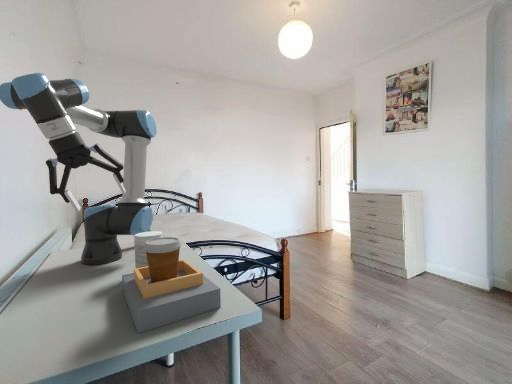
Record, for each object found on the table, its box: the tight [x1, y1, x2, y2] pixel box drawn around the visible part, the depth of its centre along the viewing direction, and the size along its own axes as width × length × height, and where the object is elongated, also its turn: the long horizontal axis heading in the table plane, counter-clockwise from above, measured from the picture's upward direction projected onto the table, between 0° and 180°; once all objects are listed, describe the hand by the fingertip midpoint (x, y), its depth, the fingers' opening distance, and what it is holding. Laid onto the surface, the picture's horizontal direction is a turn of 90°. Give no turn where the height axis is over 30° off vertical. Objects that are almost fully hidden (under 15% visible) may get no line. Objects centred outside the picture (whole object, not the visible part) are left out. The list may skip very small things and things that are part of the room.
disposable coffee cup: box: [144, 236, 182, 283], centre depth 70 cm, size 10×10×12 cm
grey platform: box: [121, 258, 222, 334], centre depth 75 cm, size 30×20×8 cm, turn 34°
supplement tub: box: [133, 230, 164, 269], centre depth 92 cm, size 10×10×15 cm
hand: (102, 201), depth 81 cm, fingers open, 13 cm apart
